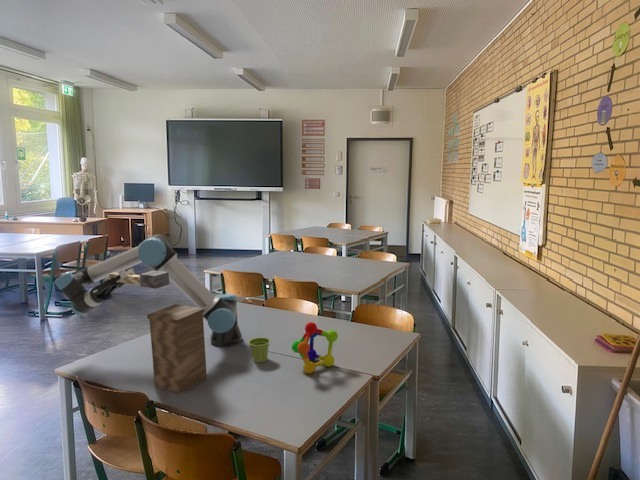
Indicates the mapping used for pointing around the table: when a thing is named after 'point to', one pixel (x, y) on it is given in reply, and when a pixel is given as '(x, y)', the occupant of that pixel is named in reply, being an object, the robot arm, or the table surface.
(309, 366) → the molecular model
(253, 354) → the plant pot
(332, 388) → the table surface
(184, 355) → the stand
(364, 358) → the table surface
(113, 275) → the mallet
